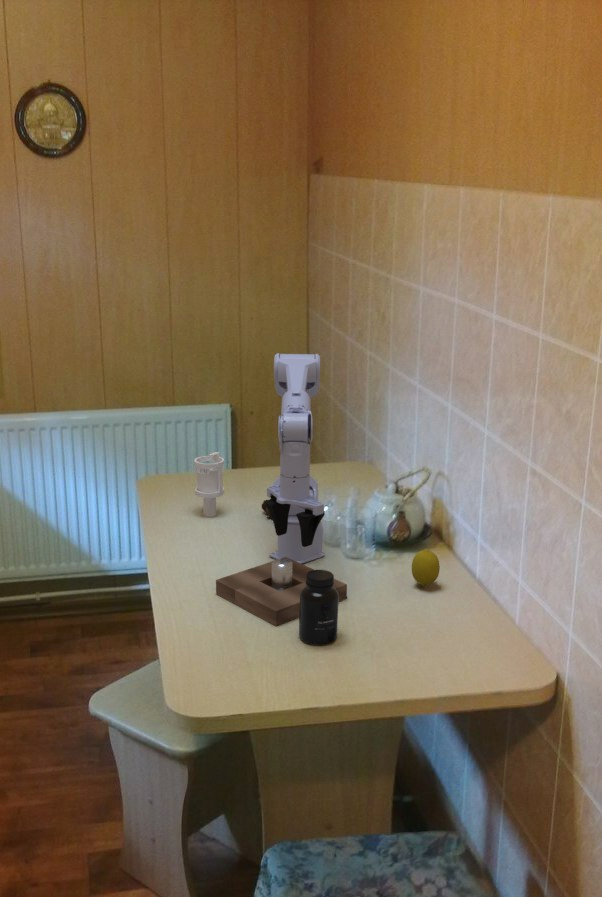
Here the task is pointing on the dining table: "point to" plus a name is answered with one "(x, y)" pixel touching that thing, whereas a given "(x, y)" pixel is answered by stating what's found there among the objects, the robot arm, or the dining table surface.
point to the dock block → (269, 592)
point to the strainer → (209, 481)
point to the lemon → (425, 567)
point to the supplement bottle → (318, 608)
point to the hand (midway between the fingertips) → (294, 539)
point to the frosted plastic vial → (281, 574)
